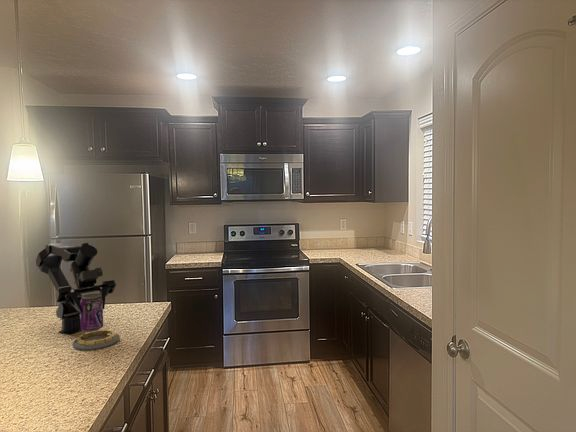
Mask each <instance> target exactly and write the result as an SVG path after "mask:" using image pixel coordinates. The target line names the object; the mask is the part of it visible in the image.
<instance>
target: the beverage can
mask: <svg viewBox="0 0 576 432" xmlns="http://www.w3.org/2000/svg"><path fill="white" fill-rule="evenodd" d="M81 298H82V299H81V301H80V305H81V308H82V313H80V320H81V331H82V332H85V333H87V332H92V331H97V330H101V329H102V328H103V327H104V309H103V300H102V298H101V294H100V293H87V294H84V295H83V294H82V297H81Z"/></svg>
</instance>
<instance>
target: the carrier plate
mask: <svg viewBox="0 0 576 432" xmlns="http://www.w3.org/2000/svg"><path fill="white" fill-rule="evenodd" d="M119 342H120V334H118V333H117V332H115V331H114V330H112V329H99V330H97V331H92V332H85V333H82V334H80V335H79V336H77V338H76V339H75V340H74V341H73V342H72V348H73V349H74V350H76V351H82V352H83V351H84V352H85V351H86V352H87V351H88V352H89V351H96V350H102V349H106V348H109V347H112V346H113V345H116V344H117V343H119Z"/></svg>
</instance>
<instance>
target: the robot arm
mask: <svg viewBox="0 0 576 432" xmlns="http://www.w3.org/2000/svg"><path fill="white" fill-rule="evenodd" d="M97 254H98V249H97V248H96V247H95V246H93V245H90V244H89V242H81V245H71V246H70V245H66V244H63V243H59V242H57V243H56V242H55V243H54V242H53V243H48V244H46V246H45V248H44V249H43V250H41V251H40V252H39V253H38V254H37V257H36V259H35V265H36V267H37V268H38V269H39V270H40V272H41V273H44V274H45V275H47V276H48V277H49V279H50V281H51V283H52V285H53V287H54V288H55V291H56V294H55V300H56V303H58V307H57V309H56V311H55V313H56V318H58V319H60V320H61V330H58V333H59V334H65V335H72V334H76V333H79V332H81V331H82V330H81V320H80V313H82V308H81V305H80V301H81V299H82V298H81V297H82V296H83V294H86V293H87V294H90V293H96V292H98V294H101V298H102V300H103V310H104V309H106V297H107V296H108V295H109V294H110V295H111V294H113V293H114V291H115V289H116V287H117V283H116V280H114V279H106V280H105V279H104V280H103V281H102V283H101V284H98V285H95V284H97V283H98V282H97V280H98V279H99V278H101V277H103V269H102V268H101V267H95V268H94V269H91V268H90V266H91V265H92V264H93V262H94V261H95V258H96V256H97ZM63 261H64V262H65V263H69V262H71V264H70V270H69V271H70V272H72V275H73V279H74V281H73V283H74V285H75V288H74V287H72V286H71V284H70V283H69V281H68V280H67V278H66V275H65V274H64V272H63V270H62V269H61V264H62V262H63Z"/></svg>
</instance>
